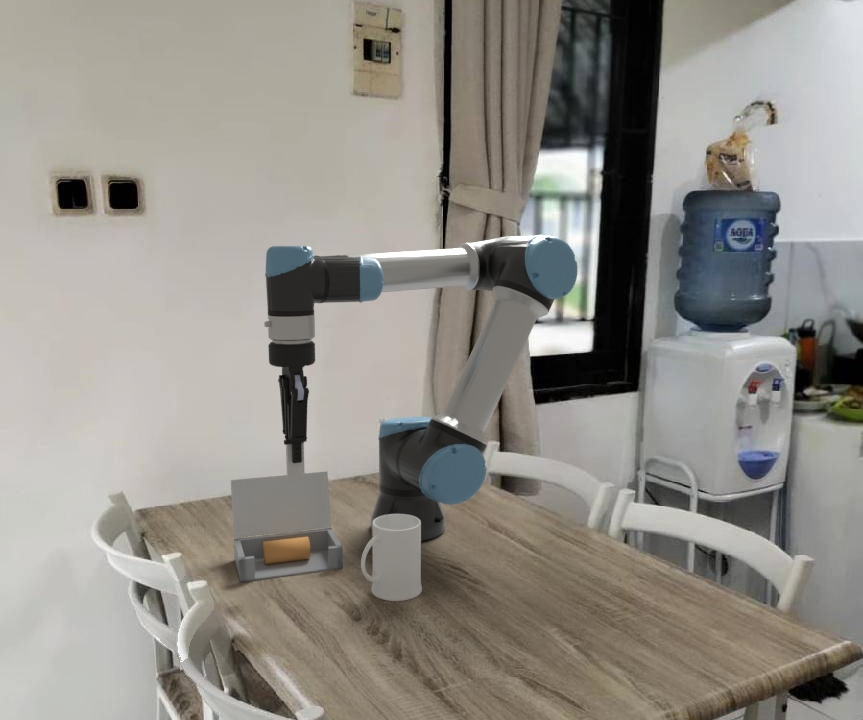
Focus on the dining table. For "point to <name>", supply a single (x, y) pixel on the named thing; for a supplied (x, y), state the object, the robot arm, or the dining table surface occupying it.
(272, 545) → the tan foam roller
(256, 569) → the shallow grey tray
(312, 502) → the lid
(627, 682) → the dining table surface
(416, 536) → the mug
